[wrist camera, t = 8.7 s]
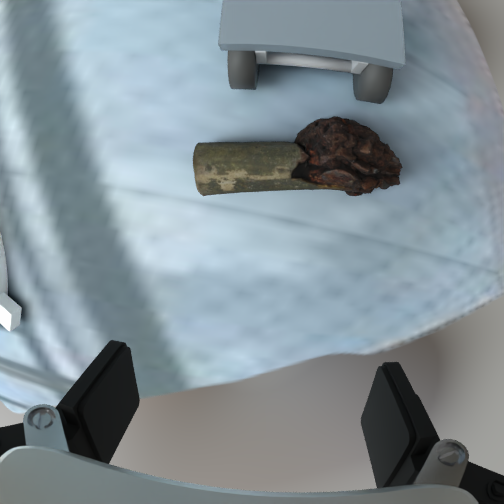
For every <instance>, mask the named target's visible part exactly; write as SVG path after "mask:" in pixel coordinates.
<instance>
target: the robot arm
mask: <svg viewBox="0 0 504 504" xmlns="http://www.w3.org/2000/svg"><path fill="white" fill-rule="evenodd" d="M139 401H140V399H139V393H138V388H137V383H136V378H135V373H134V367H133V361H132V356H131V350H130V348H129V347H127V345H126V343H124V342H119V341H114V340H111V341H109V343H108V344H107V345H106V346H105V347H104V349H103V350H102V351H101V352H100V353H99V354H98V356H97V357H96V358H95V359H94V360H93V362H92V363H91V364H90V365H89V367H88V368H87V369H86V370H85V371H84V373H83V374H82V375H81V376H80V378H79V379H78V380H77V381H76V382H75V384H74V385H73V386H72V387H71V389H70V390H69V391H68V392H67V394H66V395H65V396H64V397H63V399H62V400H61V401H60V402H59V404H58V405H57V406H56V408H55V407H53V406H50V405H46V404H42V405H36V406H33V407H32V408H30V409H29V410H28V411H27V412H26V413H25V415H24V419H23V423H19V424H15V425H10V426H5V427H0V504H504V476H503V475H501V474H498V473H495V472H493V471H490V470H488V469H486V468H483V467H481V466H478V465H476V464H473V463H471V462H469V461H468V459H469V454H468V450H467V449H466V447H465V446H464V445H463V444H462V443H460V442H458V441H456V440H452V439H444V440H440V439H439V437H438V435H437V432H436V430H435V428H434V426H433V424H432V422H431V420H430V418H429V416H428V414H427V412H426V410H425V408H424V406H423V404H422V402H421V400H420V398H419V397H418V395H417V394H415V392H414V390H413V388H412V386H411V384H410V382H409V381H408V378H407V377H406V375H405V373H404V371H403V369H402V367H401V365H400V364H399V362H385V363H383V365H382V366H379V367H378V369H377V372H376V375H375V378H374V381H373V384H372V388H371V391H370V394H369V397H368V400H367V402H366V405H365V408H364V411H363V414H362V417H361V425H362V429H363V433H364V436H365V441H366V445H367V449H368V453H369V457H370V461H371V464H372V469H373V473H374V477H375V482H376V486H377V488H376V489H366V490H353V491H338V492H309V493H308V492H307V493H296V492H295V493H294V492H293V493H292V492H265V491H250V490H238V489H229V488H220V487H212V486H205V485H199V484H192V483H186V482H181V481H175V480H171V479H166V478H161V477H156V476H152V475H148V474H143V473H140V472H136V471H132V470H128V469H124V468H120V467H117V466H114V465H110V464H109V463H110V461H111V458H112V457H113V455H114V453H115V451H116V449H117V447H118V445H119V443H120V441H121V439H122V437H123V435H124V433H125V431H126V429H127V427H128V425H129V424H130V421H131V419H132V418H133V416H134V414H135V412H136V410H137V408H138V406H139Z"/></svg>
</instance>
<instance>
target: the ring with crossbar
mask: <svg viewBox="0 0 504 504" xmlns="http://www.w3.org/2000/svg"><path fill="white" fill-rule="evenodd" d="M21 310H22V308H21V307H20V306H19V305H18V304H17V303H16V302H14V301H13V300H12V299H11V298H10V297H9V296H8V276H7V265H6V257H5V251H4V246H3V241H2V237H1V233H0V323H1V324H2V325H3V326H4V327H5V328H6V329H7V330H8V331H12V330H13V329H15V328H16V327H17V326H19V325H20V317H21Z"/></svg>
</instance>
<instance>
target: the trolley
mask: <svg viewBox="0 0 504 504" xmlns="http://www.w3.org/2000/svg"><path fill="white" fill-rule="evenodd" d="M218 45H219V47H220V49H221V51H227V50H228V77H229V84H230V87H231V89H251V90H255V89H256V87H257V81H258V71H259V64H272V65H287V66H299V67H309V68H318V69H326V70H334V71H341V72H347V73H353V89H354V95H355V97H356V99H357V100H360V101H366V102H372V103H378V104H381V103H383V102H384V101H385V99H386V97H387V95H388V92H389V89H390V86H391V81H392V74H393V69H398V70H399V69H400V68H402V67H403V66H404V65H405V45H404V30H403V18H402V8H401V0H223V4H222V13H221V22H220V31H219V40H218ZM269 51H271V52H269ZM285 52H286V53H285ZM308 54H309V55H308ZM317 55H318V56H317ZM325 56H326V57H325ZM346 59H347V60H346Z"/></svg>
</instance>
